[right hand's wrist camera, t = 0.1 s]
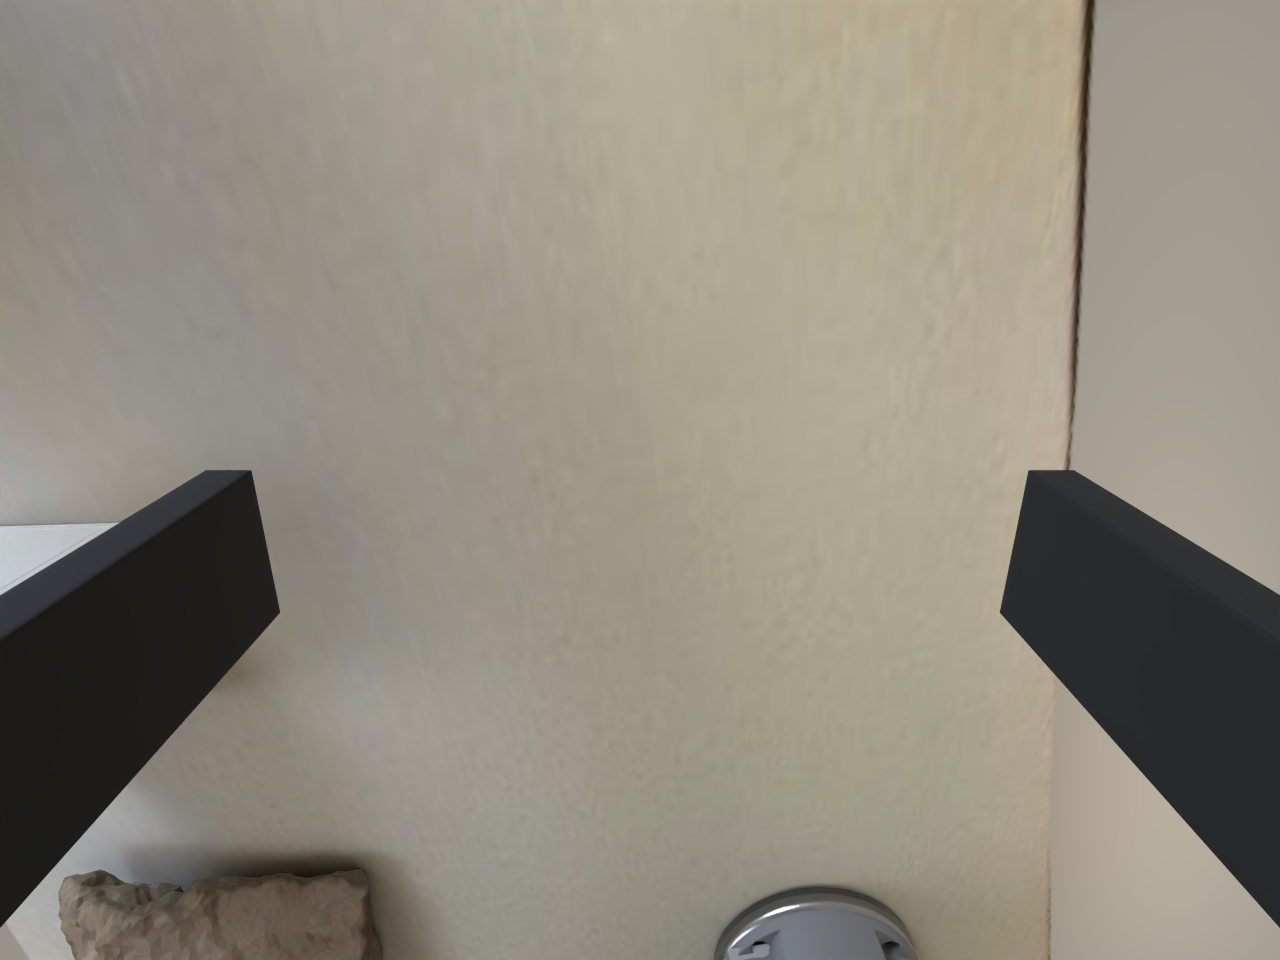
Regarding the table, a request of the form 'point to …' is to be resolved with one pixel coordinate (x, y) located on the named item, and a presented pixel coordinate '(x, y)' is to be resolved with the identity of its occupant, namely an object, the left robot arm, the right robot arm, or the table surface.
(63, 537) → the chest
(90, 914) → the stone
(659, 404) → the table surface
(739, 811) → the table surface
